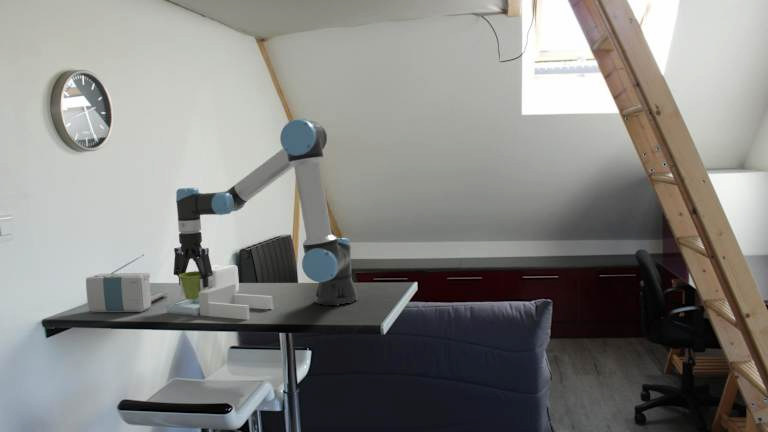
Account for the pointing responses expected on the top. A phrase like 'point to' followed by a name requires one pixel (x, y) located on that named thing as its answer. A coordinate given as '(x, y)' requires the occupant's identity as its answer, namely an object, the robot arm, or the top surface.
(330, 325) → the top surface
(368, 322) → the top surface
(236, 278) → the cable organizer
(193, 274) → the plant pot
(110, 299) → the stereo radio cassette player
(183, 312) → the tray
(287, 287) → the top surface
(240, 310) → the bay
